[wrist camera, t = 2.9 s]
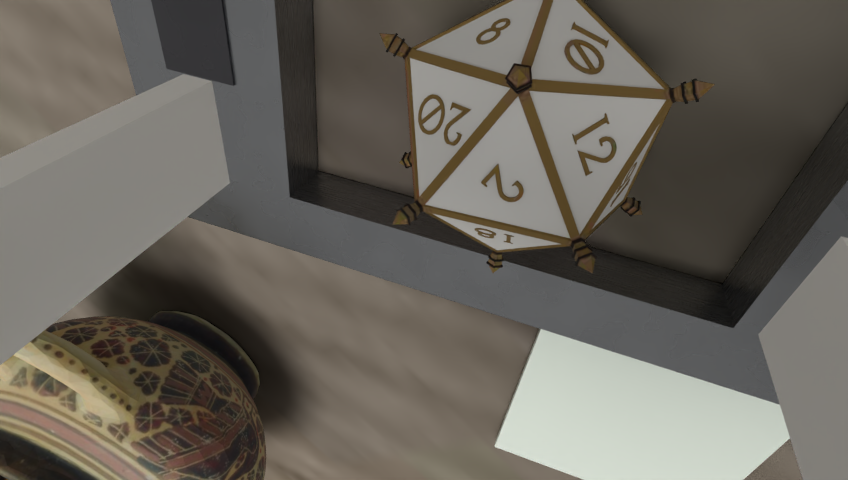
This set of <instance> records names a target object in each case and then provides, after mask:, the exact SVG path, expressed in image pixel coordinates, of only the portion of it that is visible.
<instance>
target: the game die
mask: <svg viewBox="0 0 848 480" xmlns="http://www.w3.org/2000/svg"><path fill="white" fill-rule="evenodd" d="M397 35H398V34H397V33H396V34H382V33H380V36H381V38H382V40H383V42H384V44H385V47H386V49H387V50H386V52H388V51H390V52H391V53H393V54H394V55H393V56H396V55H397V56H401V57H403V58H404V59H405V70H406V85H407V99H408V114H409V128H410V143H411V152H409V153H406V152H405V153H404V155H403V158H402V159H401V161H400V162H399V163H401V164H402V165H404V166H405V167H406V168H408V167H412V172H413V187H414V201H415V202H414V203H412V204H409V203H408V204H406V205H404V207H403V208H402V207H401V208H399V209H397V210H396V211H397V214H396V216H395V219H394V221H393V224H392V225H397V224H407V225H409V226H410V225H411V222H412V221H413V220H415V221H416V220H417V216H418V215H419V213H420V212H425V213H427V214H429V215H430V216H432V217H434V218H436V219H438V220H439V221H441V222H443V223H445V224H447V225H448V226H450V227H452V228H454V229H455V230H457V231H459V232H461V233H463V234H464V235H466V236H468V237H470V238H472V239H473V240H475V241H477V242H479V243H481V244H482V245H484V246H486V247H488V248H489V249H491V250H492V253H491V254H490V255H489V256H488V258H489V261H487V262H486V264H488V265H489V267H490V269H491V271H492V273H494V272H495V271H497V270H498V269H499V268H502V267H503V265H502V261H504V259H503V256H502V253H503V252H511V251H522V250H533V249H545V248H556V247H567V246H571V247H572V248H573V254H572V258H575V261H576V263H575V266H580V267H582V268H583V269H585V270H587V271H589V272H591V273H593V269H594V264H595V259H597V256H596V255H595V254H593V253H592V251H593V249H592V248H591V247H590V246H588V245H586V244H585V239H586V238H587V237H588V236H589V235H590V234H591V233H592V232H594V231H595V230H596V229H597V228H598V227H599V226H600V225H601V224H602V223H603V222H604V221H605V220H606V219H607V218H608V217H609V216H610V215H611V214H612V213H613V212H614V211H615V210H616V209H617V208H618V207H619V206H621V208H622V210H623V211H624V212H627V213H628V215H629V216H632V215H642V211H641V207H640V203H641V201H636V200H635V198H634V197H633V198H628V197H627V196H628V194H629V192H630V190H631V187H632V185H633V183H634V181H635V179H636V177H637V175H638V173H639V171H640V169H641V167H642V165H643V163H644V161H645V159H646V157H647V155H648V153H649V151H650V149H651V146H652V144H653V142H654V140H655V138H656V136H657V134H658V132H659V130H660V128H661V126H662V124H663V122H664V120H665V118H666V116H667V114H668V112H669V110H670V108H671V105H672V103H674V102H676V101H678V102H685V104H688V101H692V100H696V102H699V98H700V97H701V96H703V95H704V94H705V93H706V92H707V91H708V90H709V89H711V88H712V87H713V86H714V85H715V84H711V83H706V82H702V81H698V80H697V79H693V80H692V82H689V83H686V82H683V83H681V85H680V86H678V87H676V88H670V87H669V86H668V85H667V84H666V83H665V82H664V81H663V80H662V79H661V78H660V77H659V76H658V75H657V74H656V73H655V72H654V71H653V70H652V69H651V68H650V67H649V66H648V65H647V64H646V63H645V62H644V61H643V60H642V59H641V58H640V57H639V56H638V55H637V54H636V53H635V52H634V51H633V50H632V49H631V48H630V47H629V46H628V45H627V44H626V43H625V42H624V41H623V40H622V39H621V38H620V37H619V36H618V35H617V34H616V33H615V32H614V31H613V30H612V29H611V28H610V27H609V26H608V25H607V24H606V23H605V22H604V21H603V20H602V19H601V18H600V17H599V16H598V15H597V14H596V13H595V12H594V11H593V10H592V9H591V8H590V7H589V6H588V5H587V4H586V3H585V2H584V1H583V0H505V1H503V2H501V3H499V4H497V5H495V6H493V7H491V8H489V9H487V10H485V11H483V12H481V13H479V14H477V15H475V16H473V17H471V18H469V19H467V20H466V21H464V22H462V23H460V24H458V25H456V26H454V27H452V28H450V29H448V30H446V31H444V32H442V33H440V34H438V35H436V36H434V37H432V38H430V39H428V40H426V41H424V42H422V43H420V44H418V45H416V46H415V47H413V48H410V47H409V46H408V45H407V44H406V43H405V42H404V41H405V39H401V38H399V37H398V36H397Z"/></svg>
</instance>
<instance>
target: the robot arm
mask: <svg viewBox="0 0 848 480" xmlns="http://www.w3.org/2000/svg"><path fill="white" fill-rule="evenodd" d="M229 183H230V180H229V175H228V169H227V163H226V158H225V152H224V146H223V141H222V135H221V129H220V124H219V118H218V112H217V107H216V101H215V95H214V90H213V84H212V81H209V80H205V79H201V78H197V77H193V76H189V75H185V74H182V75H180V76H178V77H176V78H174V79H172V80H169V81H167V82H165V83H163V84H161V85H158V86H156V87H154V88H152V89H150V90H147V91H145V92H143V93H141V94H139V95H137V96H134V97H132V98H130V99H128V100H126V101H123V102H121V103H119V104H117V105H115V106H113V107H110V108H108V109H106V110H104V111H102V112H99V113H97V114H95V115H93V116H91V117H88V118H86V119H84V120H82V121H80V122H78V123H75V124H73V125H71V126H69V127H67V128H64V129H62V130H60V131H58V132H56V133H54V134H51V135H49V136H47V137H45V138H43V139H40V140H38V141H36V142H34V143H32V144H29V145H27V146H25V147H23V148H21V149H19V150H16V151H14V152H12V153H10V154H8V155H5V156H3V157H1V158H0V365H1V364H3V363H4V362H5V361H6V360H8V359H9V358H10V357H11V356H13V355H14V354H15V353H16V352H18V351H19V350H20V349H21V348H23V347H24V346H25V345H27V344H28V343H29V342H30V341H32V340H33V339H34V338H35V337H37V336H38V335H39V334H40V333H42V332H43V331H44V330H45V329H47V328H48V327H49V326H50V325H52V324H53V323H54V322H55V321H57V320H58V319H59V318H61V317H62V316H63V315H64V314H66V313H67V312H68V311H69V310H71V309H72V308H73V307H74V306H76V305H77V304H78V303H79V302H81V301H82V300H83V299H84V298H86V297H87V296H88V295H89V294H91V293H92V292H93V291H95V290H96V289H97V288H98V287H100V286H101V285H102V284H103V283H105V282H106V281H107V280H108V279H110V278H111V277H112V276H113V275H115V274H116V273H117V272H118V271H120V270H121V269H122V268H123V267H125V266H126V265H127V264H129V263H130V262H131V261H132V260H134V259H135V258H136V257H137V256H139V255H140V254H141V253H142V252H144V251H145V250H146V249H147V248H149V247H150V246H151V245H152V244H154V243H155V242H156V241H157V240H159V239H160V238H161V237H163V236H164V235H165V234H166V233H168V232H169V231H170V230H171V229H173V228H174V227H175V226H176V225H178V224H179V223H180V222H181V221H183V220H184V219H185V218H186V217H188V216H189V215H190V214H191V213H193V212H194V211H195V210H196V209H198V208H199V207H200V206H202V205H203V204H204V203H205V202H207V201H208V200H209V199H210V198H212V197H213V196H214V195H215V194H217V193H218V192H219V191H220V190H222V189H223V188H224V187H225V186H227V185H228V184H229ZM758 335H759V339H760V342H761V345H762V348H763V352H764V355H765V358H766V361H767V365H768V368H769V371H770V374H771V378H772V381H773V384H774V387H775V391H776V394H777V397H778V400H779V403H780V407H781V410H782V413H783V416H784V420H785V423H786V426H787V429H788V433H789V436H790V439H791V442H792V446H793V449H794V452H795V455H796V459H797V462H798V465H799V468H800V472H801V475H802V478H803V480H848V238H846V237H842V236H841V237H840V238H839V239H838V241H837V242H836V243H835V244H834V245H833V247H832V248H831V249H830V250H829V251H828V252H827V254H826V255H825V256H824V257H823V258H822V260H821V261H820V262H819V263H818V264H817V266H816V267H815V268H814V269H813V270H812V271H811V273H810V274H809V275H808V276H807V277H806V279H805V280H804V281H803V282H802V283H801V284H800V286H799V287H798V288H797V289H796V290H795V292H794V293H793V294H792V295H791V296H790V297H789V299H788V300H787V301H786V302H785V303H784V305H783V306H782V307H781V308H780V309H779V311H778V312H777V313H776V314H775V315H774V316H773V318H772V319H771V320H770V321H769V322H768V324H767V325H766V326H765V327H764V328H763V329H762V331H761V332H760V333H759V334H758Z"/></svg>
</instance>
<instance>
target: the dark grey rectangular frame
mask: <svg viewBox="0 0 848 480" xmlns="http://www.w3.org/2000/svg"><path fill="white" fill-rule="evenodd" d="M110 1H111V4H112V8H113V12H114V15H115V19H116V23H117V26H118V30H119V34H120V37H121V41H122V45H123V48H124V52H125V55H126V59H127V63H128V66H129V70H130V74H131V77H132V81H133V85H134V88H135V92H136V96H137V95H139V94H141V93H143V92H145V91H147V90H150V89H152V88H154V87H156V86H158V85H161V84H163V83H165V82H167V81H169V80H172V79H174V78H176V77H178V76H180V75H182V74H185V75H189V76H193V77H197V78H201V79H205V80H209V81H212V84H213V90H214V95H215V101H216V107H217V112H218V118H219V124H220V129H221V135H222V141H223V146H224V152H225V158H226V163H227V169H228V175H229V180H230V183H229V184H228V185H227V186H225V187H224V188H223V189H222V190H220V191H219V192H218V193H217V194H215V195H214V196H213V197H212V198H210V199H209V200H208V201H207V202H205V203H204V204H203V205H202V206H200V207H199V208H198V209H196V210H195V211H194V212H193V213H191V214H190V215H189V216H188V217H190V218H193V219H196V220H199V221H202V222H206V223H209V224H212V225H215V226H218V227H221V228H224V229H228V230H231V231H234V232H237V233H240V234H243V235H247V236H250V237H253V238H256V239H259V240H262V241H265V242H269V243H272V244H275V245H278V246H281V247H284V248H287V249H291V250H294V251H297V252H300V253H303V254H306V255H310V256H313V257H316V258H319V259H322V260H325V261H328V262H332V263H335V264H338V265H341V266H344V267H347V268H350V269H354V270H357V271H360V272H363V273H366V274H369V275H373V276H376V277H379V278H382V279H385V280H388V281H391V282H395V283H398V284H401V285H404V286H407V287H410V288H413V289H417V290H420V291H423V292H426V293H429V294H432V295H436V296H439V297H442V298H445V299H448V300H451V301H454V302H458V303H461V304H464V305H467V306H470V307H473V308H476V309H480V310H483V311H486V312H489V313H492V314H495V315H499V316H502V317H505V318H508V319H511V320H514V321H517V322H521V323H524V324H527V325H530V326H533V327H536V328H539V329H543V330H546V331H549V332H552V333H555V334H558V335H562V336H565V337H568V338H571V339H574V340H577V341H580V342H584V343H587V344H590V345H593V346H596V347H599V348H602V349H606V350H609V351H612V352H615V353H618V354H621V355H625V356H628V357H631V358H634V359H637V360H640V361H643V362H647V363H650V364H653V365H656V366H659V367H662V368H665V369H669V370H672V371H675V372H678V373H681V374H684V375H688V376H691V377H694V378H697V379H700V380H703V381H706V382H710V383H713V384H716V385H719V386H722V387H725V388H728V389H732V390H735V391H738V392H741V393H744V394H747V395H751V396H754V397H757V398H760V399H763V400H766V401H769V402H773V403H776V404H779V405H780V403H779V400H778V397H777V394H776V391H775V387H774V384H773V381H772V378H771V374H770V371H769V368H768V365H767V361H766V358H765V355H764V352H763V348H762V345H761V342H760V339H759V335H758V334H759V333H760V332H761V331H762V329H763V328H764V327H765V326H766V325H767V324H768V322H769V321H770V320H771V319H772V318H773V316H774V315H775V314H776V313H777V312H778V311H779V309H780V308H781V307H782V306H783V305H784V303H785V302H786V301H787V300H788V299H789V297H790V296H791V295H792V294H793V293H794V292H795V290H796V289H797V288H798V287H799V286H800V284H801V283H802V282H803V281H804V280H805V279H806V277H807V276H808V275H809V274H810V273H811V271H812V270H813V269H814V268H815V267H816V266H817V264H818V263H819V262H820V261H821V260H822V258H823V257H824V256H825V255H826V254H827V252H828V251H829V250H830V249H831V248H832V247H833V245H834V244H835V243H836V242H837V241H838V239H839V238H840V237H841V236H842V237H846V238H848V104H847V105H846V106H845V108H844V109H843V111H842V112H841V114H840V115H839V117H838V118H837V119H836V121H835V122H834V124H833V125H832V127H831V128H830V130H829V131H828V132H827V134H826V135H825V137H824V138H823V140H822V141H821V143H820V144H819V145H818V147H817V148H816V150H815V151H814V153H813V154H812V156H811V157H810V159H809V160H808V161H807V163H806V164H805V166H804V167H803V169H802V170H801V172H800V173H799V174H798V176H797V177H796V179H795V180H794V182H793V183H792V185H791V186H790V187H789V189H788V190H787V192H786V193H785V195H784V196H783V198H782V199H781V200H780V202H779V203H778V205H777V206H776V208H775V209H774V211H773V212H772V213H771V215H770V216H769V218H768V219H767V221H766V222H765V224H764V225H763V226H762V228H761V229H760V231H759V232H758V234H757V235H756V237H755V238H754V240H753V241H752V242H751V244H750V245H749V247H748V248H747V250H746V251H745V253H744V254H743V255H742V257H741V258H740V260H739V261H738V263H737V264H736V266H735V267H734V268H733V270H732V271H731V273H730V274H729V276H728V277H727V279H726V280H725V281H724V283H723V284H719V283H716V282H712V281H709V280H705V279H701V278H698V277H694V276H691V275H687V274H684V273H680V272H676V271H673V270H669V269H666V268H662V267H659V266H655V265H652V264H648V263H644V262H641V261H637V260H634V259H630V258H627V257H623V256H619V255H616V254H612V253H609V252H605V251H602V250H598V249H594V248H592V249H593V251H592V253H593V254H595V255H596V256H597V259H595V264H594V269H593V273H591V272H589V271H587V270H585V269H583V268H582V267H580V266H575V263H576V261H575V258H572V254H573V248H572V247H571V246H567V247H556V248H545V249H533V250H522V251H511V252H503V253H502V256H503V259H504V261H502V265H503V267H502V268H499V269H498V270H497V271H495V272H494V273H492V271H491V269H490V267H489V265H488V264H486V262H487V261H489V258H488V256H489V255H490V254H491V253H492V250H491V249H489V248H488V247H486V246H484V245H482V244H481V243H479V242H477V241H475V240H473V239H472V238H470V237H468V236H466V235H464V234H463V233H461V232H459V231H457V230H455V229H454V228H452V227H450V226H448V225H447V224H445V223H443V222H441V221H439V220H438V219H436V218H434V217H432V216H430V215H429V214H427V213H425V212H420V213H419V215H418V216H417V220H416V221H415V220H413V221H412V222H411V225H410V226H409V225H407V224H397V225H392V224H393V221H394V219H395V216H396V214H397V211H396V210H397V209H399V208H401V207H402V208H403V207H404V205H406V204H408V203H409V204H412V203H414V202H415V201H414V198H413V197H409V196H405V195H402V194H398V193H395V192H391V191H388V190H384V189H380V188H377V187H373V186H370V185H366V184H363V183H359V182H356V181H352V180H348V179H345V178H341V177H338V176H334V175H331V174H327V173H323V172H320V171H318V158H317V128H316V97H315V67H314V37H313V7H312V0H110Z"/></svg>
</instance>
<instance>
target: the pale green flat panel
mask: <svg viewBox="0 0 848 480" xmlns="http://www.w3.org/2000/svg"><path fill="white" fill-rule="evenodd" d="M789 438H790V436H789V433H788V429H787V426H786V423H785V420H784V416H783V413H782V410H781V407H780V405H779V404H776V403H773V402H769V401H766V400H763V399H760V398H757V397H754V396H751V395H747V394H744V393H741V392H738V391H735V390H732V389H728V388H725V387H722V386H719V385H716V384H713V383H710V382H706V381H703V380H700V379H697V378H694V377H691V376H688V375H684V374H681V373H678V372H675V371H672V370H669V369H665V368H662V367H659V366H656V365H653V364H650V363H647V362H643V361H640V360H637V359H634V358H631V357H628V356H625V355H621V354H618V353H615V352H612V351H609V350H606V349H602V348H599V347H596V346H593V345H590V344H587V343H584V342H580V341H577V340H574V339H571V338H568V337H565V336H562V335H558V334H555V333H552V332H549V331H546V330H543V329H539V331H538V333H537V336H536V338H535V341H534V343H533V346H532V348H531V351H530V354H529V356H528V359H527V361H526V364H525V366H524V369H523V371H522V374H521V377H520V379H519V382H518V384H517V387H516V389H515V392H514V394H513V397H512V400H511V402H510V405H509V407H508V410H507V412H506V415H505V417H504V420H503V423H502V425H501V428H500V430H499V433H498V435H497V438H496V442H495V446H494V447H497V448H500V449H502V450H505V451H508V452H510V453H513V454H516V455H518V456H521V457H524V458H527V459H529V460H532V461H535V462H537V463H540V464H543V465H546V466H548V467H551V468H554V469H556V470H559V471H562V472H564V473H567V474H570V475H573V476H575V477H578V478H581V479H583V480H743V479H744V478H746V477H747V476H748V475H749V474H750V473H751V472H752V471H753V470H755V469H756V468H757V467H758V466H759V465H760V464H761V463H762V462H764V461H765V460H766V459H767V458H768V457H769V456H770V455H771V454H773V453H774V452H775V451H776V450H777V449H778V448H779V447H780V446H782V445H783V444H784V443H785V442H786V441H787V440H788V439H789Z"/></svg>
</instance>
